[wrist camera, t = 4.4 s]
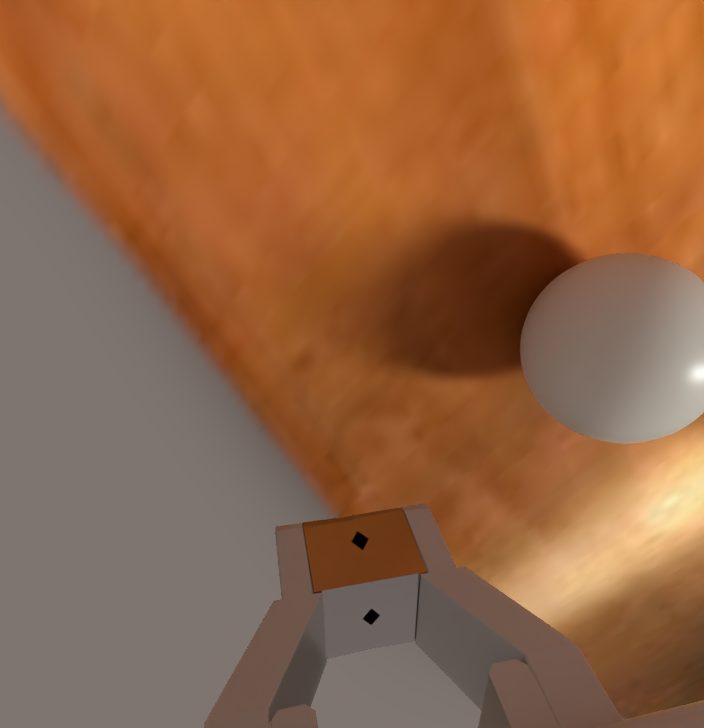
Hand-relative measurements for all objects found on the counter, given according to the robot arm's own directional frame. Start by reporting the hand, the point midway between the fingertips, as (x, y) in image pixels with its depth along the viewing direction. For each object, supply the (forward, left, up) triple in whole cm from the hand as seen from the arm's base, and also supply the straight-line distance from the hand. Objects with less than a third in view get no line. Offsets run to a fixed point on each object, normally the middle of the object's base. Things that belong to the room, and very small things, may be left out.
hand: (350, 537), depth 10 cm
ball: (-1, +9, -5) cm, 10 cm away
